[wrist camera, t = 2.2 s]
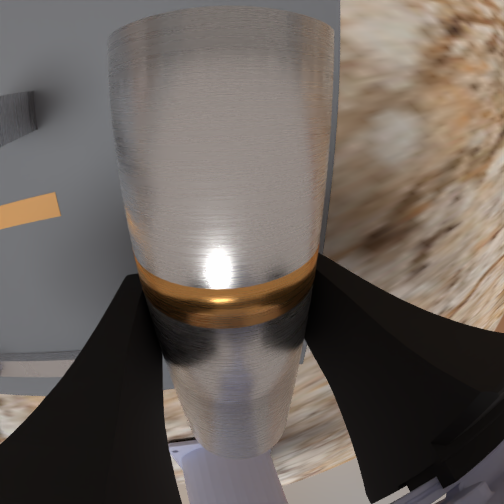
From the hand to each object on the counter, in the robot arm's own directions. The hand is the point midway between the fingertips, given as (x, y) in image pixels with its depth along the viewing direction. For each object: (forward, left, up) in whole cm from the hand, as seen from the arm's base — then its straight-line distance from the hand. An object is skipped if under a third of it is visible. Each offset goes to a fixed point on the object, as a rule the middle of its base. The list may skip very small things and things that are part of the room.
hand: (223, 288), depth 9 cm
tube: (0, 0, -1) cm, 1 cm away
